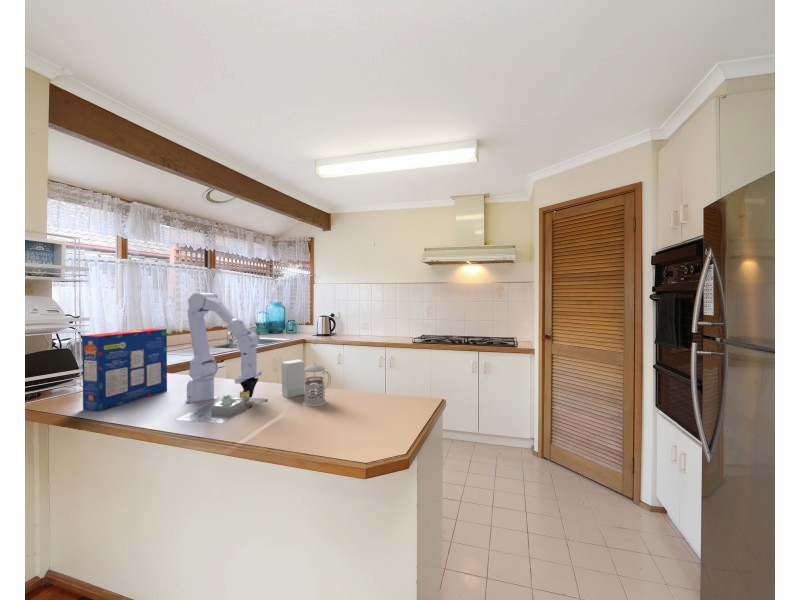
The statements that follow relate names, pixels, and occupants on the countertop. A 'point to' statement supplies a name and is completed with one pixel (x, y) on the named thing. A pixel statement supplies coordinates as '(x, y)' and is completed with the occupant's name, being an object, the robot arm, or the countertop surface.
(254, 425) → the countertop surface
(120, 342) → the blue flat upright box
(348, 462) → the countertop surface
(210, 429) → the countertop surface
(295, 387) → the skincare box
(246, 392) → the pin
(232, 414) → the dock
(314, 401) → the french press
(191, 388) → the robot arm
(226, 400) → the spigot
